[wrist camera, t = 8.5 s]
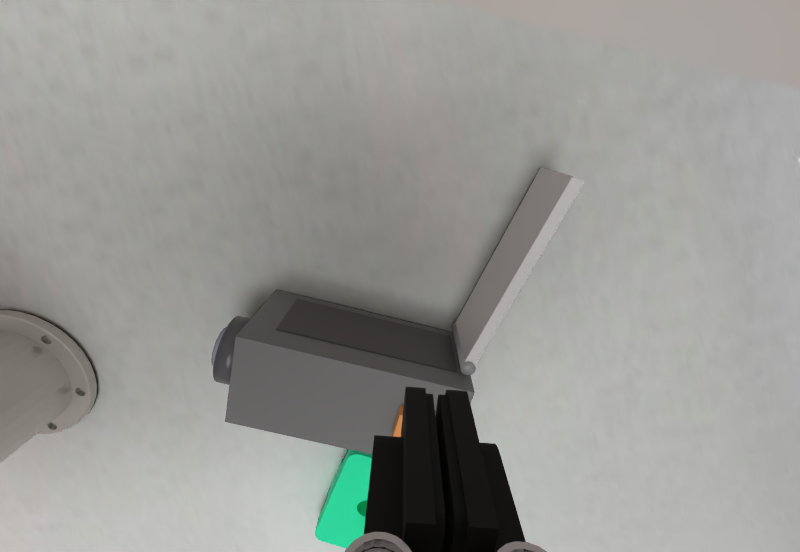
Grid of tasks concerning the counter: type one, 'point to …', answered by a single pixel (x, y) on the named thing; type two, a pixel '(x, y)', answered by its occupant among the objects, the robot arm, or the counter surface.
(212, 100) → the counter surface
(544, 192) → the door
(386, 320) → the camera body
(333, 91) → the counter surface
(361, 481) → the camera mount
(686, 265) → the counter surface
